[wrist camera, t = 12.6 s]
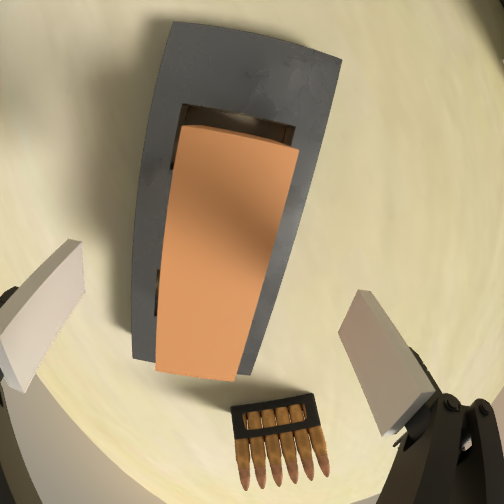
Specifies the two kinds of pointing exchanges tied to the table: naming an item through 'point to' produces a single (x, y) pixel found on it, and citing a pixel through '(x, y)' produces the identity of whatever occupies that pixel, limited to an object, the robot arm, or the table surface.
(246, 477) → the ammunition clip
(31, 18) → the table surface
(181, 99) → the gray slotted base board
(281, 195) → the clip
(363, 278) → the table surface
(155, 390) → the table surface
